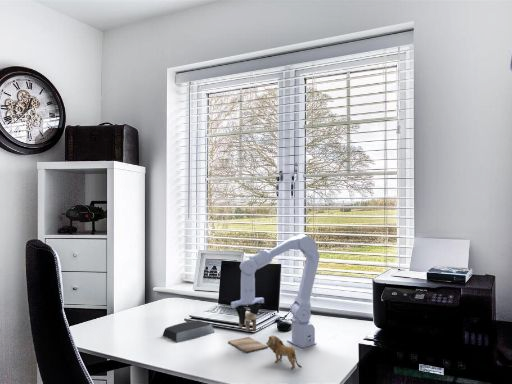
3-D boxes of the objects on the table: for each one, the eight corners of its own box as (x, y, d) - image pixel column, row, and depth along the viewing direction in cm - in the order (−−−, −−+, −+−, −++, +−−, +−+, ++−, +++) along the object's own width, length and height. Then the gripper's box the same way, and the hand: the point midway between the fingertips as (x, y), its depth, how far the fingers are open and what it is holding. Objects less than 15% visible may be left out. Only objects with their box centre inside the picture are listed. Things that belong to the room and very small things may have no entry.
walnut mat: (267, 348, 171) (267, 346, 171) (246, 353, 165) (246, 351, 165) (248, 338, 182) (248, 336, 182) (228, 342, 177) (228, 341, 177)
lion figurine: (264, 361, 157) (264, 336, 157) (272, 356, 162) (272, 332, 162) (297, 371, 148) (297, 345, 148) (306, 366, 152) (306, 341, 152)
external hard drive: (215, 334, 189) (215, 324, 189) (177, 344, 176) (177, 334, 176) (199, 327, 199) (199, 318, 199) (161, 336, 186) (161, 326, 186)
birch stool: (247, 325, 178) (247, 311, 178) (256, 330, 172) (256, 315, 172) (238, 327, 176) (238, 312, 176) (247, 331, 170) (247, 316, 170)
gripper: (237, 293, 166) (237, 328, 166) (268, 288, 175) (268, 322, 174) (228, 290, 172) (228, 324, 172) (258, 285, 180) (258, 318, 180)
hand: (247, 323), depth 174 cm, fingers closed on birch stool, 4 cm apart
